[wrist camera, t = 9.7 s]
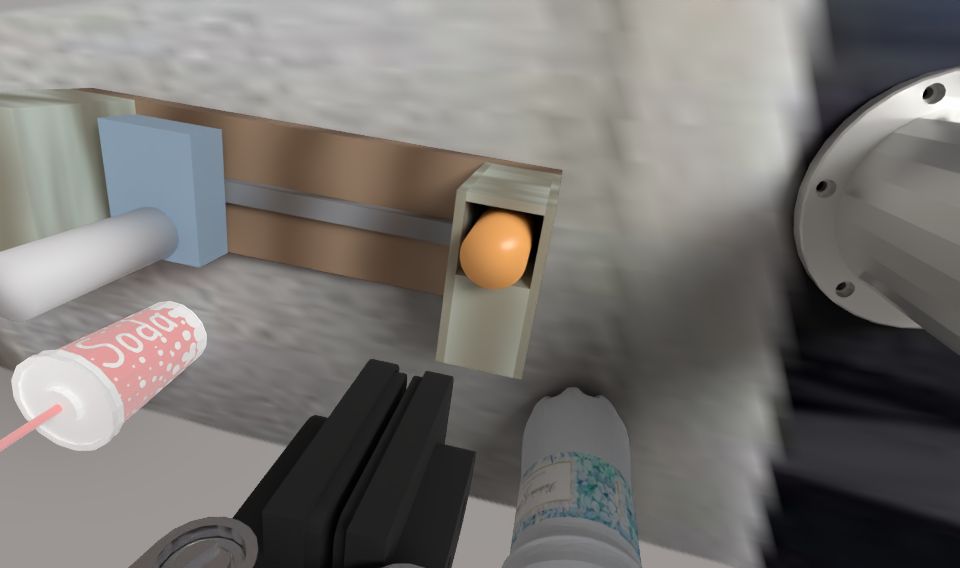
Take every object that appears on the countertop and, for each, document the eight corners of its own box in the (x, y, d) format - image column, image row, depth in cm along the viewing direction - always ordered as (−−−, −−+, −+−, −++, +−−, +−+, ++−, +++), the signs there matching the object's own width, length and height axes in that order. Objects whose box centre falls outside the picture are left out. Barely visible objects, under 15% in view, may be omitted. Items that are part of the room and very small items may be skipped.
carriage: (221, 129, 28) (35, 160, 18) (227, 252, 31) (68, 335, 21) (135, 113, 28) (-89, 135, 19) (149, 237, 31) (-41, 310, 22)
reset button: (539, 206, 23) (532, 232, 20) (529, 261, 24) (520, 295, 21) (482, 196, 24) (464, 219, 20) (474, 251, 25) (455, 282, 21)
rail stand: (562, 170, 28) (556, 207, 21) (535, 303, 32) (521, 379, 24) (85, 86, 31) (-78, 92, 24) (104, 216, 34) (-34, 259, 27)
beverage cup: (233, 338, 36) (46, 483, 24) (187, 384, 39) (-7, 539, 26) (164, 273, 35) (-70, 388, 23) (121, 324, 38) (-115, 455, 25)
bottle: (569, 355, 32) (559, 722, 14) (652, 419, 33) (743, 849, 15) (502, 420, 35) (420, 801, 17) (580, 479, 36) (582, 906, 17)
